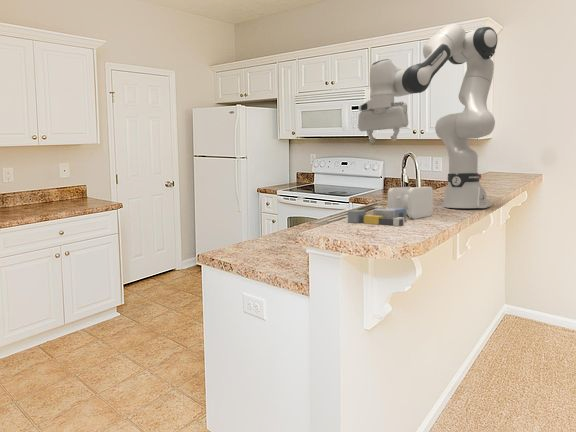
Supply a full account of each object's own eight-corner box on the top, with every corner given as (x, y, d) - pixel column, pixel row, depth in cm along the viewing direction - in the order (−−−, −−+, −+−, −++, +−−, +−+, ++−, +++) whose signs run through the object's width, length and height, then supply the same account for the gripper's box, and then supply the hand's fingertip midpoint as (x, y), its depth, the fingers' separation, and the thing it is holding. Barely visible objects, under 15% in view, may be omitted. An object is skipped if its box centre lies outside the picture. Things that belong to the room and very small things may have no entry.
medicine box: (395, 210, 156) (373, 209, 161) (395, 223, 156) (372, 222, 162) (406, 208, 162) (384, 207, 167) (406, 221, 162) (384, 220, 168)
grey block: (356, 221, 166) (356, 210, 165) (367, 222, 162) (367, 210, 162) (347, 222, 162) (347, 211, 162) (358, 223, 159) (358, 211, 159)
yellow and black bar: (364, 222, 163) (364, 214, 162) (404, 225, 151) (404, 217, 151) (357, 223, 160) (357, 215, 160) (398, 226, 148) (398, 218, 148)
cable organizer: (410, 220, 165) (410, 187, 164) (386, 218, 173) (386, 187, 171) (433, 217, 174) (433, 186, 173) (409, 215, 182) (409, 186, 181)
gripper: (411, 101, 168) (411, 139, 170) (365, 108, 183) (366, 143, 184) (402, 100, 164) (402, 139, 165) (355, 107, 178) (356, 143, 180)
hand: (383, 141), depth 175 cm, fingers open, 8 cm apart
